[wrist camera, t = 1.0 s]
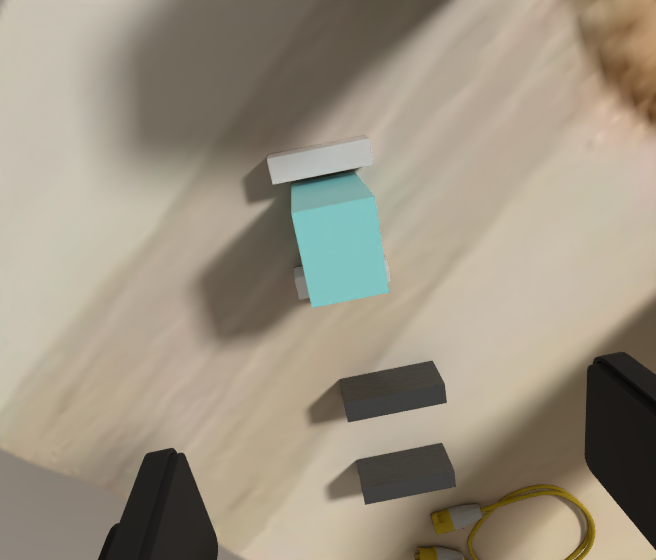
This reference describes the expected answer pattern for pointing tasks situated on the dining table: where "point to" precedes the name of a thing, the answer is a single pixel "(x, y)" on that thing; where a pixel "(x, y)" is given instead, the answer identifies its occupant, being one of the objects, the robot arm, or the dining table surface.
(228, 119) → the dining table surface
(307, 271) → the turquoise rectangular block
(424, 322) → the dining table surface
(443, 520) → the extension cord
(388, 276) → the pair of white bars
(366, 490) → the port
